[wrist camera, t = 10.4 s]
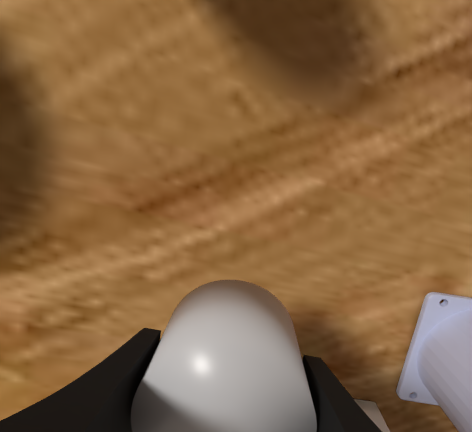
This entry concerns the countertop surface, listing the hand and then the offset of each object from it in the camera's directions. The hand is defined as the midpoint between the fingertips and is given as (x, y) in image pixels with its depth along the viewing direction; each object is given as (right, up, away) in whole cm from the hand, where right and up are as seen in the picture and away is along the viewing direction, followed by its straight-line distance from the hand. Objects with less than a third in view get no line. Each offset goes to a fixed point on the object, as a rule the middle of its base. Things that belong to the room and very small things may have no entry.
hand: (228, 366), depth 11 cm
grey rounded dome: (0, 0, +1) cm, 2 cm away
